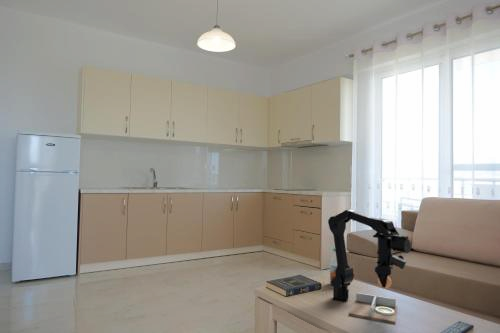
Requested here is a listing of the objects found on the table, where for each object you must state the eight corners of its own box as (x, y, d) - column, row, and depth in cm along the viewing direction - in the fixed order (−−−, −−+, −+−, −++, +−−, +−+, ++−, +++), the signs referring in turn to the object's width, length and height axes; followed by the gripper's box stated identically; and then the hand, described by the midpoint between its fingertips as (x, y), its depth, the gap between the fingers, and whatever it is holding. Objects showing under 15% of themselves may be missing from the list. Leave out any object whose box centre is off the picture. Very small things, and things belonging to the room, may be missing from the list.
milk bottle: (326, 283, 188) (327, 246, 189) (338, 282, 191) (338, 246, 192) (335, 287, 181) (336, 249, 182) (347, 286, 184) (347, 248, 185)
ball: (377, 288, 145) (377, 275, 145) (378, 285, 150) (378, 272, 150) (391, 290, 143) (391, 277, 143) (391, 287, 148) (391, 274, 148)
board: (348, 315, 144) (348, 304, 144) (355, 302, 160) (355, 292, 160) (395, 324, 136) (395, 312, 136) (396, 309, 152) (396, 298, 152)
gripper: (404, 255, 135) (404, 295, 135) (405, 247, 152) (405, 282, 151) (374, 252, 140) (374, 290, 139) (379, 244, 157) (378, 279, 156)
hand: (384, 285), depth 147 cm, fingers closed on ball, 5 cm apart
